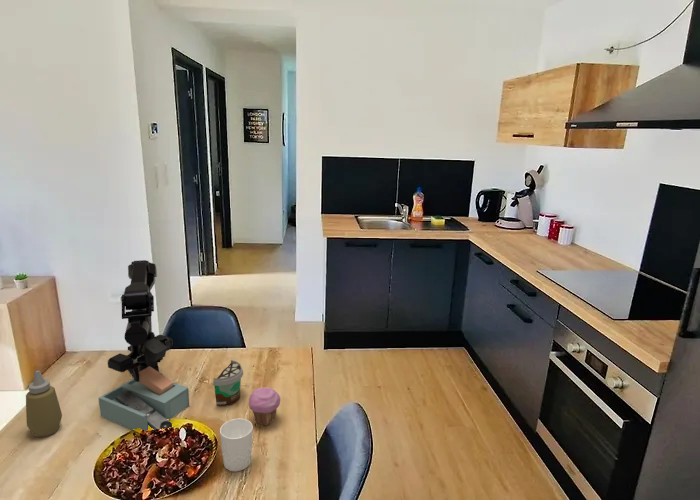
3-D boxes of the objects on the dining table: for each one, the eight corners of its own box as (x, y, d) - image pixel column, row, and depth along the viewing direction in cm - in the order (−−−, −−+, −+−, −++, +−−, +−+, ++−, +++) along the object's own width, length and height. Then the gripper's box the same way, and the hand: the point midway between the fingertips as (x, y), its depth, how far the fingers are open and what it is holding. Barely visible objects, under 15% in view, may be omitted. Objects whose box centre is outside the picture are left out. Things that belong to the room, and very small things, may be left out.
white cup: (224, 451, 118) (223, 418, 115) (255, 451, 119) (254, 417, 116) (218, 474, 110) (216, 439, 108) (251, 473, 111) (250, 438, 108)
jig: (100, 416, 130) (98, 397, 128) (146, 389, 144) (145, 372, 142) (145, 436, 123) (143, 416, 121) (189, 405, 136) (188, 387, 135)
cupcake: (270, 433, 126) (269, 402, 123) (243, 425, 128) (242, 394, 126) (285, 415, 134) (285, 385, 131) (259, 408, 136) (259, 379, 134)
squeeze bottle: (70, 425, 126) (62, 367, 121) (43, 443, 118) (33, 382, 114) (49, 418, 128) (40, 361, 124) (21, 435, 121) (10, 375, 116)
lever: (115, 399, 128) (116, 395, 128) (127, 392, 132) (128, 388, 131) (163, 437, 122) (164, 432, 122) (174, 428, 126) (175, 424, 125)
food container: (233, 412, 134) (232, 382, 132) (214, 409, 135) (212, 379, 133) (250, 389, 146) (249, 361, 143) (232, 387, 147) (231, 359, 144)
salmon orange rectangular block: (136, 379, 135) (137, 372, 134) (148, 372, 139) (149, 366, 138) (160, 396, 132) (161, 389, 131) (172, 389, 136) (173, 382, 135)
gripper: (131, 349, 121) (136, 401, 125) (184, 324, 137) (187, 370, 142) (103, 340, 126) (109, 389, 130) (157, 316, 142) (161, 361, 146)
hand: (144, 377), depth 137 cm, fingers open, 5 cm apart
